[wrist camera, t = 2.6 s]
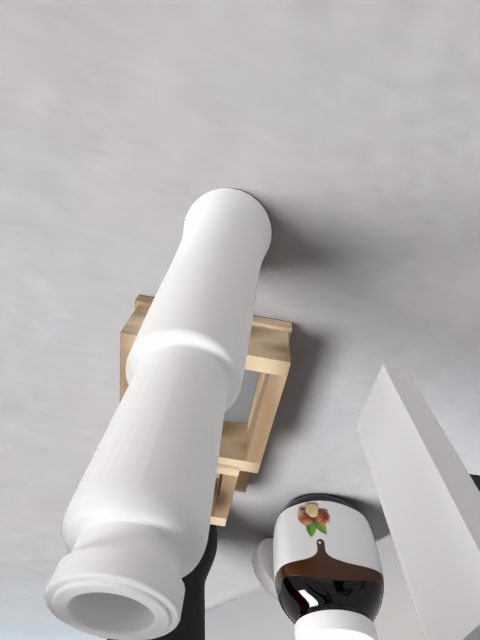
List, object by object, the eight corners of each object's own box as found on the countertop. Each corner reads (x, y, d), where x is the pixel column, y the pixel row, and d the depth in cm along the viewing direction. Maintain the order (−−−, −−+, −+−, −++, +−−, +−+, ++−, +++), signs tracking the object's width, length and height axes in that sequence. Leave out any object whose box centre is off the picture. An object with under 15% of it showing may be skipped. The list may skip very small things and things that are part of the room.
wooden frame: (291, 322, 28) (296, 359, 24) (245, 483, 38) (243, 531, 34) (139, 294, 28) (115, 327, 23) (132, 465, 37) (115, 511, 33)
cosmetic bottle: (268, 182, 23) (293, 490, 4) (274, 270, 26) (306, 692, 7) (176, 192, 24) (-180, 500, 5) (192, 277, 27) (14, 681, 8)
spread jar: (371, 494, 38) (411, 632, 28) (351, 553, 43) (378, 687, 33) (256, 486, 38) (255, 620, 28) (251, 546, 44) (248, 675, 33)
